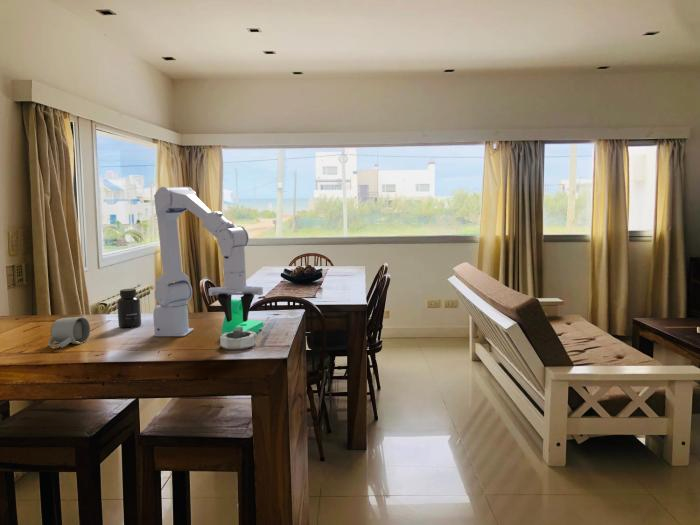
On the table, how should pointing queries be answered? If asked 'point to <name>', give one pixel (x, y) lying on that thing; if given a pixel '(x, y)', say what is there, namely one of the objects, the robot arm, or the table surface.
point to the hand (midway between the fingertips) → (237, 320)
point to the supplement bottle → (129, 309)
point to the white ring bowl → (238, 341)
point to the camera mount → (239, 320)
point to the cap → (238, 332)
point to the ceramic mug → (69, 331)
